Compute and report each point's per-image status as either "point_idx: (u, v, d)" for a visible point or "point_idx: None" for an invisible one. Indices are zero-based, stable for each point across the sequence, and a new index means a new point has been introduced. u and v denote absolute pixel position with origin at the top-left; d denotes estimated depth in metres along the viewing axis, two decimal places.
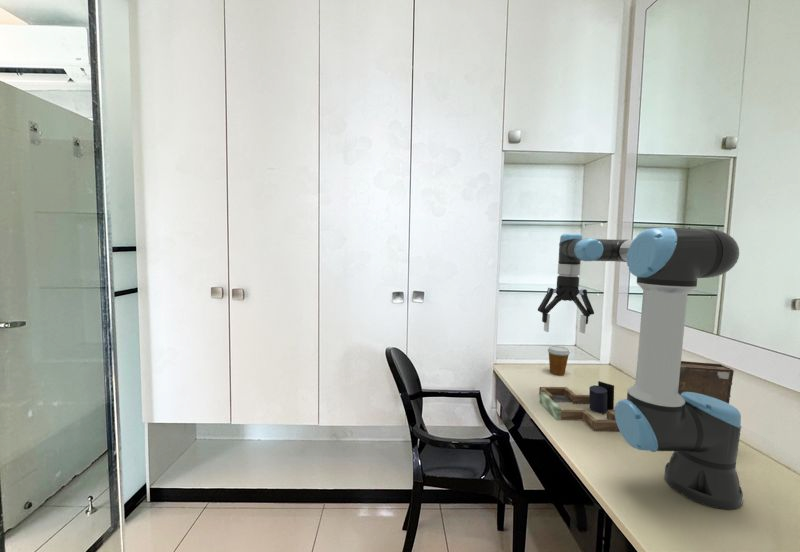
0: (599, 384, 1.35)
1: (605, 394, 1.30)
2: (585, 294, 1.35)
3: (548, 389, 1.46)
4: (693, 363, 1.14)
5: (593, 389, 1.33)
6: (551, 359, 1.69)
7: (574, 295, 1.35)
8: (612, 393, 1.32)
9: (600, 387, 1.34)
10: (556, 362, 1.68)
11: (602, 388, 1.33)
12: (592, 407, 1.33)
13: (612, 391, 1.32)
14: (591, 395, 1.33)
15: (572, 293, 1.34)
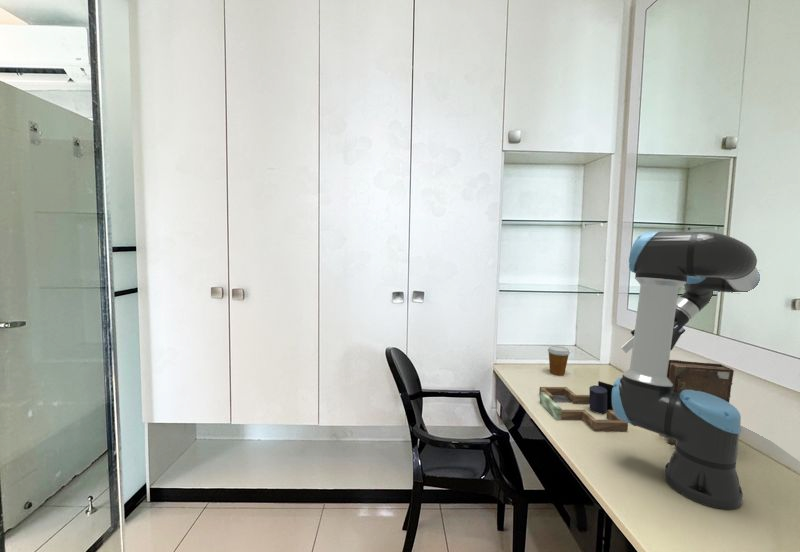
0: (599, 384, 1.35)
1: (605, 394, 1.30)
2: (676, 328, 1.25)
3: (548, 389, 1.46)
4: (693, 363, 1.14)
5: (593, 389, 1.33)
6: (551, 359, 1.69)
7: None
8: None
9: (600, 387, 1.34)
10: (556, 362, 1.68)
11: (602, 388, 1.33)
12: (592, 407, 1.33)
13: None
14: (591, 395, 1.33)
15: None
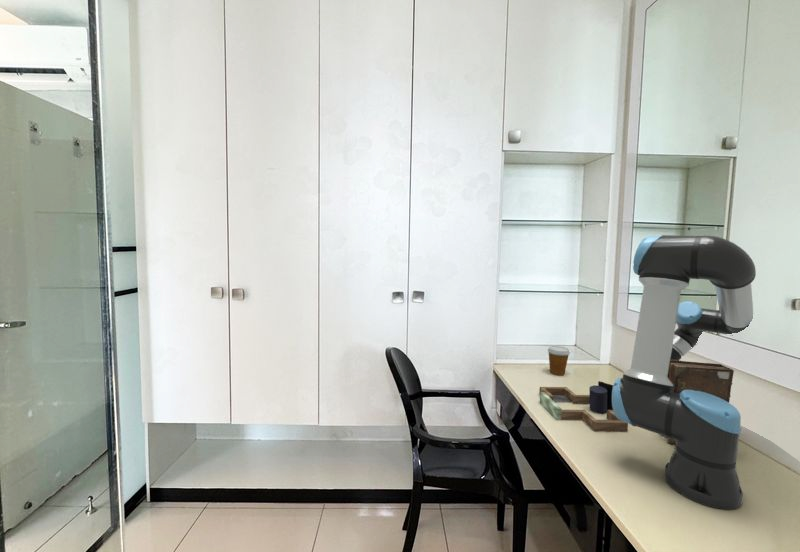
0: (599, 384, 1.35)
1: (605, 394, 1.30)
2: None
3: (548, 389, 1.46)
4: (693, 363, 1.14)
5: (593, 389, 1.33)
6: (551, 359, 1.69)
7: None
8: None
9: (600, 387, 1.34)
10: (556, 362, 1.68)
11: (602, 388, 1.33)
12: (592, 407, 1.33)
13: None
14: (591, 395, 1.33)
15: None
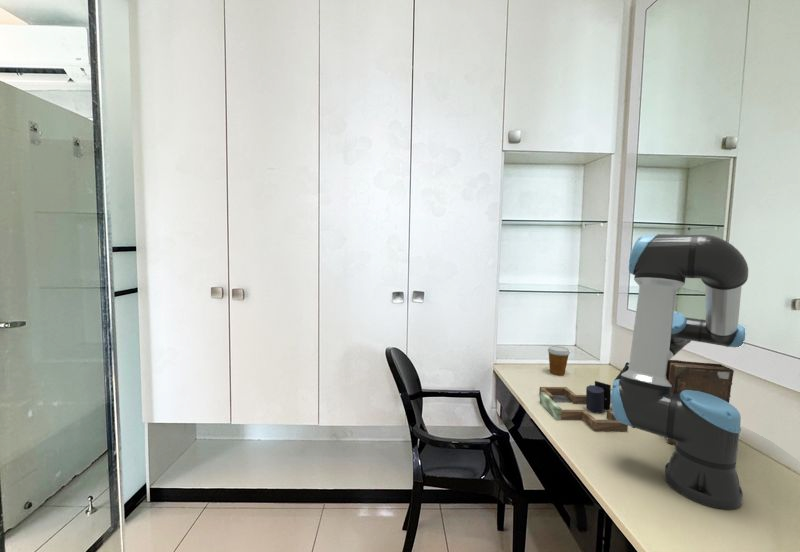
0: (596, 384, 1.35)
1: (602, 394, 1.31)
2: None
3: (548, 389, 1.46)
4: (693, 363, 1.14)
5: (590, 389, 1.33)
6: (551, 359, 1.69)
7: None
8: (609, 393, 1.32)
9: (597, 387, 1.34)
10: (556, 362, 1.68)
11: (599, 388, 1.33)
12: (589, 407, 1.33)
13: (609, 390, 1.32)
14: (588, 395, 1.33)
15: None
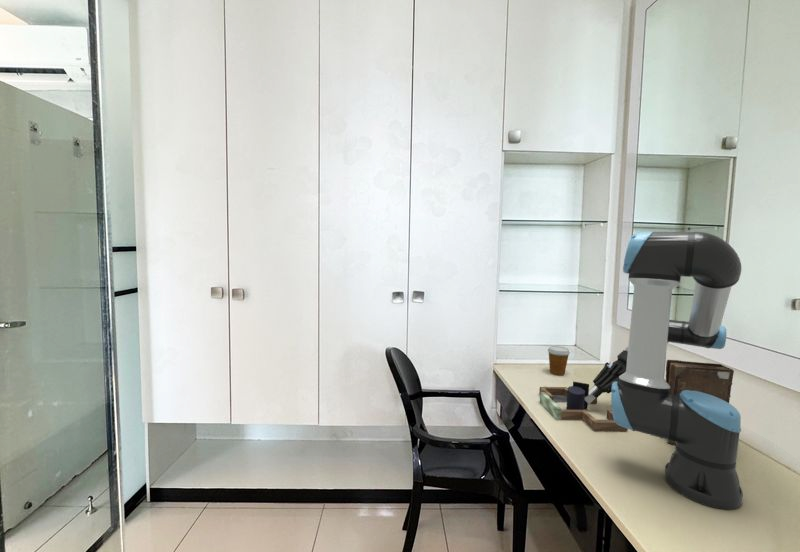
0: (574, 384, 1.34)
1: (584, 394, 1.30)
2: None
3: (548, 389, 1.46)
4: (693, 363, 1.14)
5: (572, 390, 1.31)
6: (551, 359, 1.69)
7: (617, 368, 1.31)
8: (587, 392, 1.32)
9: (576, 387, 1.33)
10: (556, 362, 1.68)
11: (578, 388, 1.32)
12: (572, 409, 1.31)
13: (587, 390, 1.32)
14: (571, 397, 1.30)
15: (619, 366, 1.31)
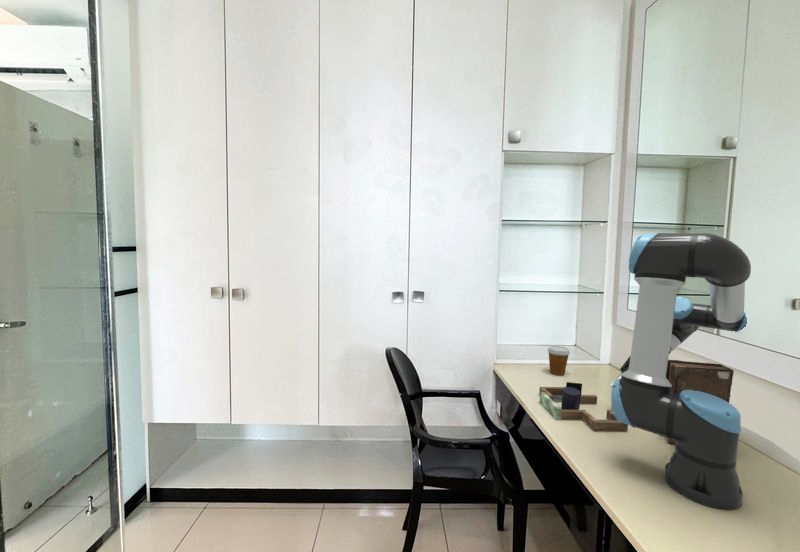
0: (567, 385, 1.33)
1: (579, 394, 1.30)
2: None
3: (548, 389, 1.46)
4: (693, 363, 1.14)
5: (568, 392, 1.30)
6: (551, 359, 1.69)
7: None
8: (580, 391, 1.33)
9: (570, 388, 1.32)
10: (556, 362, 1.68)
11: (573, 389, 1.32)
12: None
13: (580, 389, 1.33)
14: (568, 399, 1.29)
15: None
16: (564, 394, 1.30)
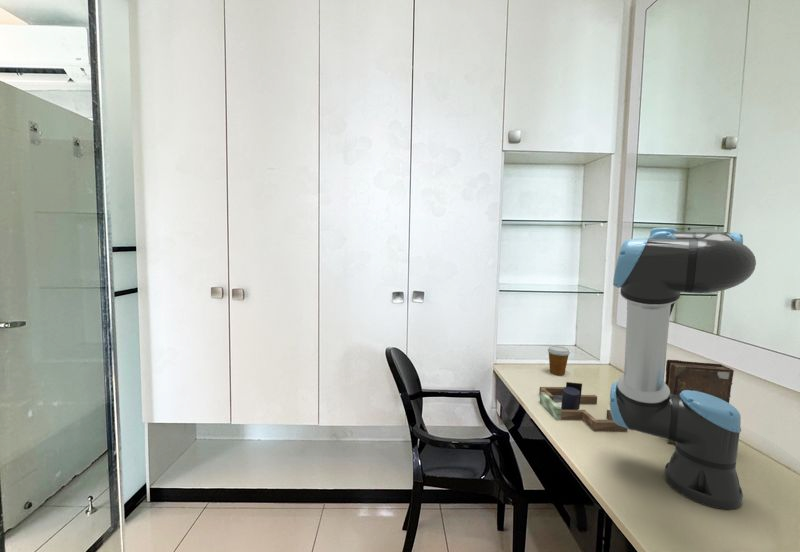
0: (567, 385, 1.33)
1: (579, 394, 1.30)
2: None
3: (548, 389, 1.46)
4: (693, 363, 1.14)
5: (568, 392, 1.30)
6: (551, 359, 1.69)
7: None
8: (580, 391, 1.33)
9: (570, 388, 1.32)
10: (556, 362, 1.68)
11: (573, 389, 1.32)
12: None
13: (580, 389, 1.33)
14: (568, 399, 1.29)
15: None
16: (564, 394, 1.30)
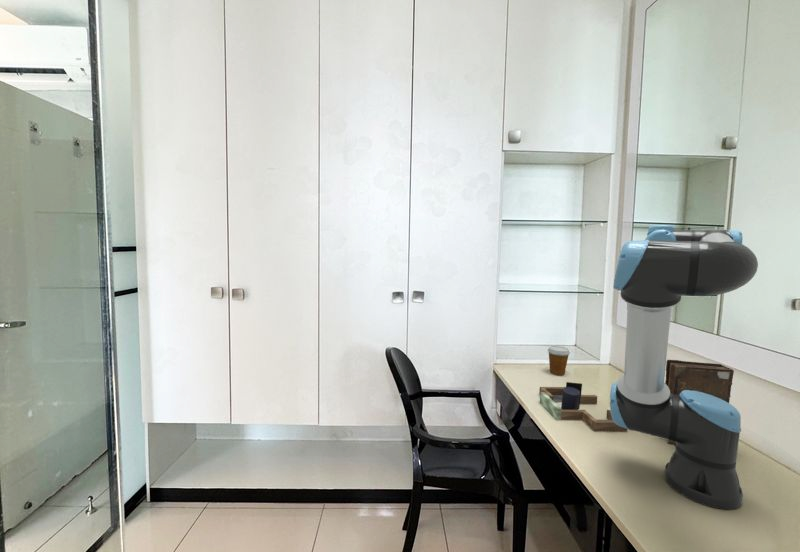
0: (567, 385, 1.33)
1: (579, 394, 1.30)
2: None
3: (548, 389, 1.46)
4: (693, 363, 1.14)
5: (568, 392, 1.30)
6: (551, 359, 1.69)
7: None
8: (580, 391, 1.33)
9: (570, 388, 1.32)
10: (556, 362, 1.68)
11: (573, 389, 1.32)
12: None
13: (580, 389, 1.33)
14: (568, 399, 1.29)
15: None
16: (564, 394, 1.30)
